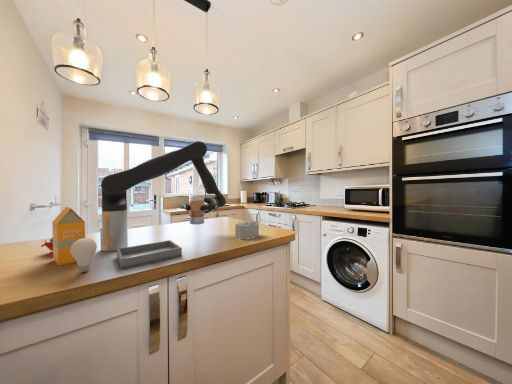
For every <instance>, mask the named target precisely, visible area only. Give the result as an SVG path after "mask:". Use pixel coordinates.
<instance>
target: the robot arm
mask: <svg viewBox="0 0 512 384" xmlns="http://www.w3.org/2000/svg"><path fill="white" fill-rule="evenodd" d="M207 153H208V146H207V144H205V142H203V141H200V140H195V141H192V142H191V143H189V144H188V145H185V146H183V147H182V148H179V149H175V150H172V151H169V152H165V153H163V154H160V155H156V156H154V157H152V158H149V159H148V160H146V161H143V162H141V163H140V164H138V165H136V166H134V167H132V168H129V169H126V170H123V171H119V172H115V173H111V174H108V175H106V176H104V177H103V179H101V182H100V186H101V187H100V188H101V225H102V226H101V228H100V230H99V232H100V234H99V235H100V237H99V238H100V239H99V240H100V250H101V251H102V252H117V249H119V248H125V247H129V246H128V245H129V244H128V242H129V241H128V237H129V236H128V235H129V234H128V200H127V199H128V198H127V195H128V194H127V191H128V190H129V189H132V188H133V187H135V186H137V185H140V184H141V183H144V182H147V181H150V180H153V179H156V178H159V177H161V176H164V175H166V174H169V173H170V172H172V171H174V170H176V169H178V168H179V167H181V166H183V165H184V164H186V163H188V162H192V164H193V166H194V168H195V169H196V172H197V174H198V176H199V178H200V181H201V183H202V186H203V188H204V190H205V193H206V195H215V196H212V197H210V196H209V197H204V206H202V211H204V214H208V213H210V212H213V211H215V210H218V209H219V208H223V207H225V206H226V203H227V200H226V197H225V196H224V195H223V194H222V193H221V191H220V190H219V188H218V185H217V183H216V180H215V178H214V176H213V175H212V173H211V172H210V170H209V168H208V167H207V165H206V162H205V161H204V160H205V159H204V157H205V156H206V154H207ZM185 210H186V212H190V202H188V203H186V204H185Z"/></svg>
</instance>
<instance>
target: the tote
mask: <svg viewBox="0 0 512 384" xmlns="http://www.w3.org/2000/svg"><path fill="white" fill-rule="evenodd" d="M182 249H183V248H182V247H181V246H180V245H178V244H177V243H175V242H174V241H173V240H171V239H170V240H169V239H168V240H163V241H157V242H150V243H145V244H144V243H143V244H138V245H137V244H136V245H132V246H128V247H125V248H119V249H117V251H116V259H117V262H118V264H119V267H120V270H121V271H122V270H126V269H127V270H128V269H130V268H131V269H132V268H135V267H140V266H144V265H145V266H146V265H148V264H154V263H158V262H163V261H168V260H172V259H177V258H180V257H183V256H182V253H183V251H182Z"/></svg>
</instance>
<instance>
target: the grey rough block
mask: <svg viewBox="0 0 512 384" xmlns="http://www.w3.org/2000/svg"><path fill="white" fill-rule="evenodd" d="M259 225H260V224H259V222H257V221H255V220H246V219H245V220H241V221H239V222H237V223H235V225H234V226H235V228H234V229H235V231H234V232H235V238H237V237H238V238H237V239H239V238H240V239H239V240H242V239H245V240H248V239H247V238H253V237H257V236H258V235H259V236H260V231H259V230H260V227H259ZM259 236H258V237H259ZM258 237H257V238H258ZM253 239H254V238H253Z"/></svg>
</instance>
